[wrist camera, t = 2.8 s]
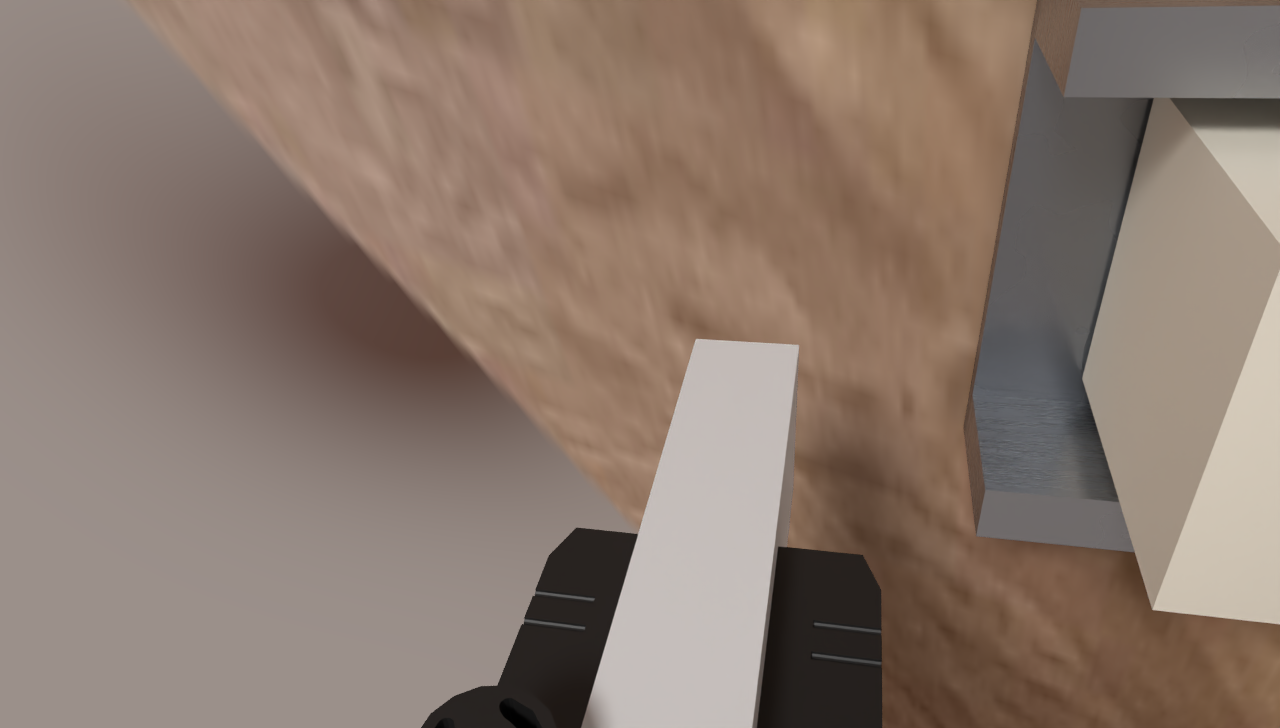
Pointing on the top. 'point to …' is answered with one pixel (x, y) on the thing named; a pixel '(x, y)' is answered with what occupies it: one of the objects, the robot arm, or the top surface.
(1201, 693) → the top surface
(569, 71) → the top surface
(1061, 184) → the chute
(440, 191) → the top surface
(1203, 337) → the block
